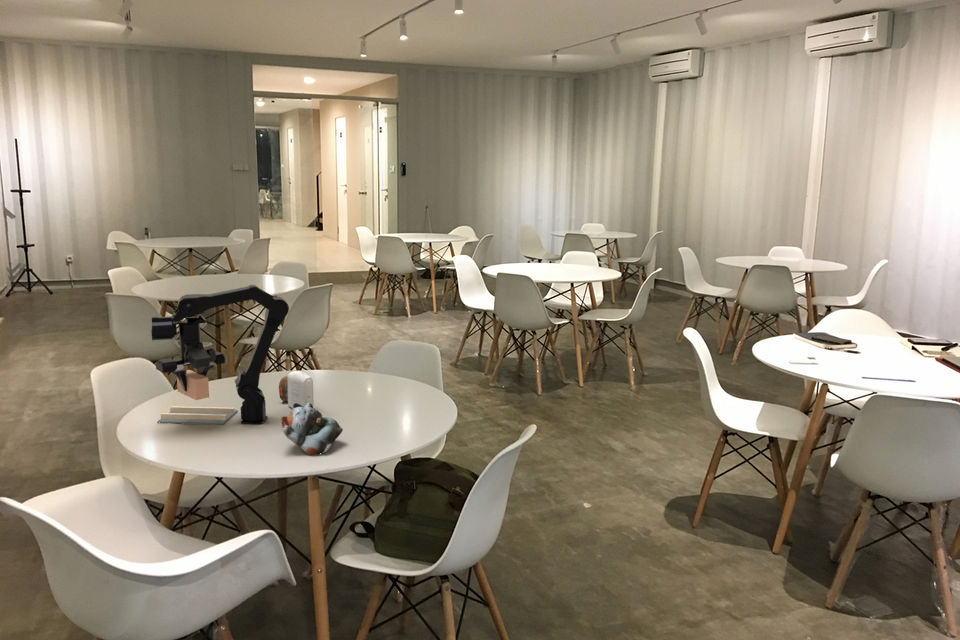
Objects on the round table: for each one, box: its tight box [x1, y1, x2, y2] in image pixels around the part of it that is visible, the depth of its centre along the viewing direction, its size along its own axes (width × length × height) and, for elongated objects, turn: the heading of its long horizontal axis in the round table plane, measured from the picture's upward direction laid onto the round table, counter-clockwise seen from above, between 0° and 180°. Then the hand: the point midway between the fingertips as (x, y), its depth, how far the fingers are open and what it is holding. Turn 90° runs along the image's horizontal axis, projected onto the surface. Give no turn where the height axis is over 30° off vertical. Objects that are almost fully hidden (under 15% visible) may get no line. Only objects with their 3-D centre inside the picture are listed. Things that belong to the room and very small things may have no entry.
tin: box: [278, 373, 289, 402], centre depth 257 cm, size 15×3×8 cm, turn 168°
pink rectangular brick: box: [176, 369, 210, 401], centre depth 225 cm, size 4×12×6 cm, turn 46°
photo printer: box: [287, 370, 314, 409], centre depth 245 cm, size 10×4×12 cm, turn 47°
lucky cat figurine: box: [280, 403, 344, 456], centre depth 211 cm, size 15×12×14 cm
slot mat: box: [157, 405, 239, 426], centre depth 236 cm, size 20×13×2 cm, turn 89°
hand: (192, 390), depth 225 cm, fingers closed on pink rectangular brick, 4 cm apart
